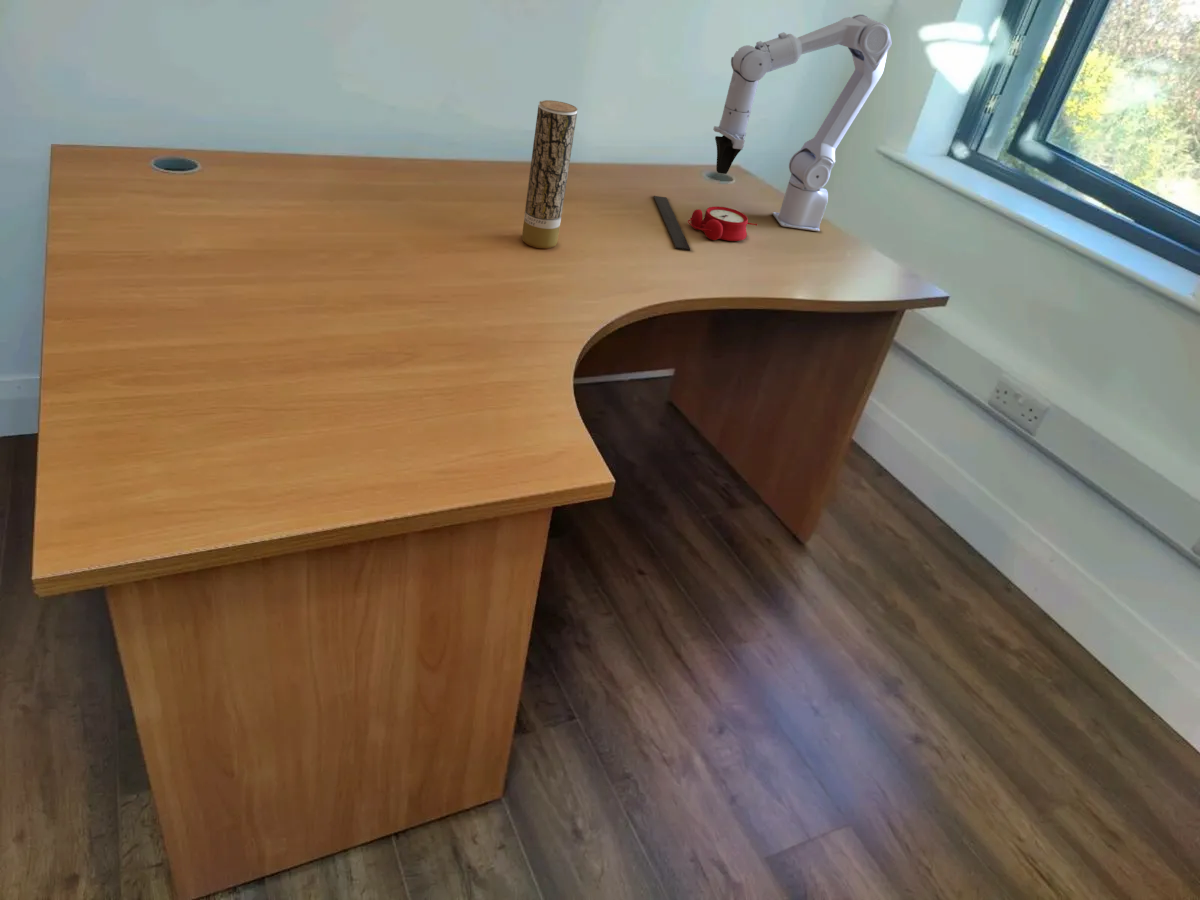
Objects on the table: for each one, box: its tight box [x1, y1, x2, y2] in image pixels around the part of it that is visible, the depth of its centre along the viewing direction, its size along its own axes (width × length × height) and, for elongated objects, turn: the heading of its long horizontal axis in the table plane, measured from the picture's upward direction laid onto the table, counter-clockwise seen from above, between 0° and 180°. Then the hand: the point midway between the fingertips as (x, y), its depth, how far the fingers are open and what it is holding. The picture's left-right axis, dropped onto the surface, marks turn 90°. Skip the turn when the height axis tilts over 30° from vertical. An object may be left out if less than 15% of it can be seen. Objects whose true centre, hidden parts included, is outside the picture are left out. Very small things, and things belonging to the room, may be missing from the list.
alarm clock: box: [687, 205, 758, 242], centre depth 179 cm, size 10×6×15 cm
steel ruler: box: [653, 195, 691, 252], centre depth 180 cm, size 3×30×1 cm, turn 6°
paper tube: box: [521, 99, 579, 250], centre depth 151 cm, size 7×7×25 cm
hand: (721, 172), depth 184 cm, fingers closed
